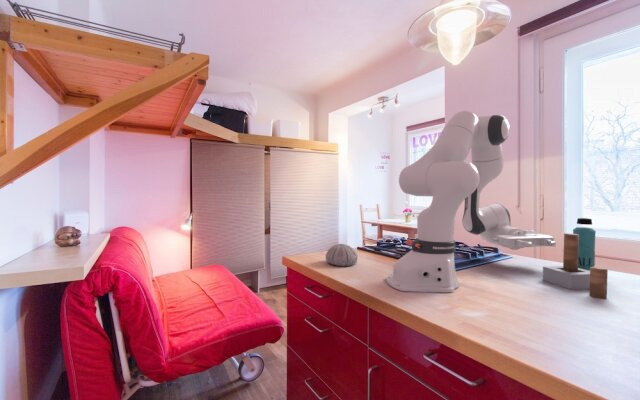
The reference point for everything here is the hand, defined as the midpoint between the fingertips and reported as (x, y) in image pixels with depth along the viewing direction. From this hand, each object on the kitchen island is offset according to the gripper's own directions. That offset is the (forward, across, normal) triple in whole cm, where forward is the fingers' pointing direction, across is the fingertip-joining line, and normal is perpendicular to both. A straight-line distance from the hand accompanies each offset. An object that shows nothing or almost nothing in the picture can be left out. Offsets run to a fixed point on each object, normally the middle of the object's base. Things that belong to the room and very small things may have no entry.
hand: (542, 244), depth 106 cm
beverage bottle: (0, +17, +11) cm, 20 cm away
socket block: (+11, 0, +11) cm, 15 cm away
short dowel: (+22, -3, +11) cm, 25 cm away
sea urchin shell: (-24, -68, +11) cm, 73 cm away
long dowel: (+11, 0, +11) cm, 15 cm away
